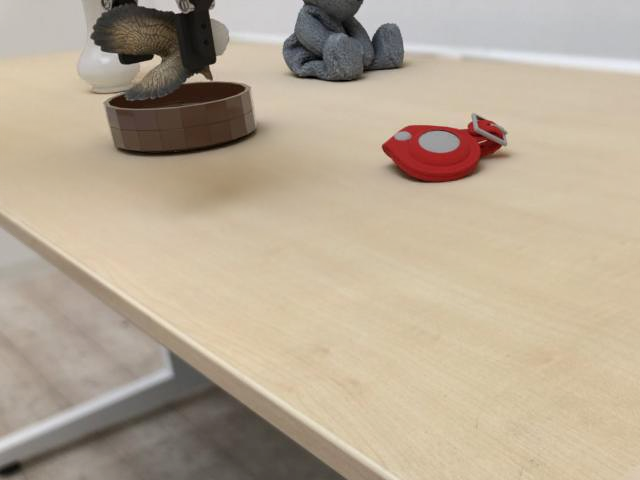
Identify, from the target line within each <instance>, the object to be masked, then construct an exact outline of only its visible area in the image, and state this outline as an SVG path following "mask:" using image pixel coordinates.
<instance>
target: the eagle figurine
mask: <svg viewBox="0 0 640 480" xmlns="http://www.w3.org/2000/svg"><path fill="white" fill-rule="evenodd" d="M174 14H176V13H175V12H174V11H173V10H170V11H169V10H165V11H164V10H162V9H160V10H158V9H156V8H154V7H145V6H143V5H136V4H133V3H132V4H127V3H126V4H125V6H123V5H120V6H119V7H114V8H113V9H109V10H108V11H106V12H103V13H101V17H100V18H98V19H97V21H96V24H95V25H93V27H92V28H93V30H94V32H93V33H92V34H91V36H90V38H91V39H92V40H94V44H95V45H97V46H101V51H103V52H107V53H116V54H123V53H124V54H133V55H144V54H154V56H158V57H160V59H161V61H160V63H159V64H158V65H156V66H154V67H153V68H152V69H151V70H149V71H148V72H147V73H146V74H145V76H144V77H143V78H142V79H141V80H140V81H139V82H138V83H136V84H134V86H133V87H132V88H130V89H128V90H126V91H124V93H125V94H126V95H125V97H127V98H126V100H131V101H136V100H145V99H148V98H151V99H154V98H156V97H163V96H165V95H167V94H169V93H171V92H173V91H175V89H178V88H179V87H180V84H182V83H187V80H188V79H190V78H191V77H193V76H194V75H199V74H200V75H203V77H204V78H205V79H206V80H207V81H214V77H213V74H212V71H211V68H210V65H208V66H203V67H199V68H195V69H186V68H184V66H183V65H182V60H181V55H180V49H179V44H178V38H177V33H176V27H175V21H174ZM210 21H211V27H212V33H213V40H214V46H215V52H216V57H219V56H223V55H224V53H225V51H226V50H227V47H228V45H229V42H230V35H229V33H230V32H229V28H227V26H226V25H225V24H224V23H223V22H221V21H219V20H217V19H214V18H210Z"/></svg>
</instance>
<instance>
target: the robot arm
mask: <svg viewBox="0 0 640 480" xmlns="http://www.w3.org/2000/svg"><path fill="white" fill-rule="evenodd" d="M174 1H175V4H176V5H177V8H178V10H179V11H180V12H177V13H175V14H174V21H175V27H176V33H177V38H178V44H179V49H180V55H181V60H182V65H183V66H184V68H186V69H195V68H199V67H203V66H208V65H209V66H212V65H215V64H216V63H217V56H216V52H215V46H214V40H213V33H212V27H211V21H210V19H211V15H210V11H211V10H214V9H215V8H216V7H215V6H216V0H174ZM100 3H101V6H102V8H103V9H104V10H105V11H106V12H107V11H108V10H109V9H113V8H114V7H119V6H120V5H123V6H125V4H126V3H127V4H132V3H133V4H136V5H138V4H139V0H100ZM138 6H139V5H138ZM118 57H119V61H120V63H121V64H123V65H130V64H135V63H144V62H148V61H152V60H153V59H154V57H155V55H154V54H144V55H133V54H124V53H123V54H118Z"/></svg>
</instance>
